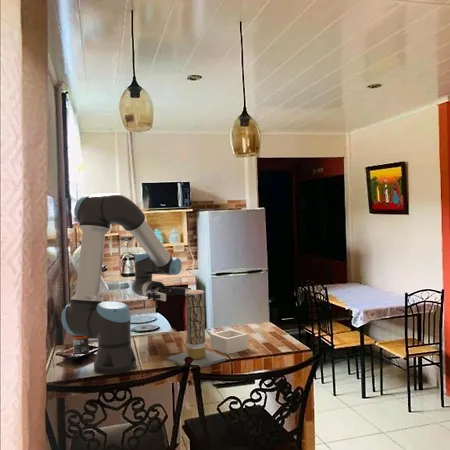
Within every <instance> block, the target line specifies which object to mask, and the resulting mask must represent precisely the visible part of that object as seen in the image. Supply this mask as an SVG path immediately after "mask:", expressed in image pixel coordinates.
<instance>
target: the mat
mask: <svg viewBox="0 0 450 450" xmlns="http://www.w3.org/2000/svg"><path fill="white" fill-rule="evenodd" d="M205 351H206V356H205V357H204V358H202V359H193V363H192V365H199V366H200V368H203V367H204V368H205V367H208V366H211V365H215V364H218V363H221V362H226V361H227V360H228V358H227V357H225V356H223V355H220V354H217V353H215V352H212V351H210V350H207V349H205ZM186 357H188V351H187V352H181V353H177V354H175V355H170V356H167V360H168V361H170V362H172V363H174V364H176V365H179V366H180V367H183V366H182V365H184V359H185V358H186Z"/></svg>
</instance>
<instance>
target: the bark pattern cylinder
mask: <svg viewBox="0 0 450 450" xmlns="http://www.w3.org/2000/svg"><path fill="white" fill-rule="evenodd" d="M185 307H186V308H185V310H186V313H185V314H186V339H187V340H186V343H187V352H188V357H192V358H193V359H202V358H204V357H205V356H206V351H205V350H206V323H205V321H206V320H205V318H206V317H205V316H206V315H205V291H204V290H203V289H191V290H189V291H186V296H185Z"/></svg>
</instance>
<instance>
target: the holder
mask: <svg viewBox="0 0 450 450" xmlns="http://www.w3.org/2000/svg"><path fill="white" fill-rule="evenodd" d="M209 336H210V337H209V339H210V349H212V350H214V351H216V350H217V352H219V351H220V353H222V354H224V353H225V355H231V354H234V353H238V352H242V351H246V350H248V349H249V334H248V333H245V332H242V331H240V330H236V329H232V328H229V329H226V330H225V329H224V330H221V331H218V332H213V333H212V332H211V333H210V334H209ZM230 353H231V354H230Z"/></svg>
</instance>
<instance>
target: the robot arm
mask: <svg viewBox="0 0 450 450" xmlns="http://www.w3.org/2000/svg"><path fill="white" fill-rule="evenodd" d="M73 209H74V217H75V220H76V222H77V223H79V224H78V225H79V226H78V227H79V229H80V230H81V233H82V234H81V243H80V249H79V250H80V251H79V260H78V266H77V267H78V268H77V269H78V270H77V276H76V277H77V278H76V285H75V286H76V287H75V293H74V295H73V296H72V297H70V299H69V300H70V301H69V303H68V304H66V305H65V307H64V308H63V310H62V312H61V317H60V318H61V325H62V327H63V329H64V330H65V332H66V333H68V334H70V335H72V336H73V335H76V336H88V338H89V337H90V338H97V344H98V345H97V351H96V355H95V358H94V362H93V371H94V372H95V373H97V374H101V375H118V374H123V373H127V372H130V371H132V370H134V369H136V368H137V364H138V363H137V357H136V355H135V353H134V350H133V347H132V336H131V331H132V330H131V320H132V319H131V318H132V316H131V312H130V310H131V309H130V307H129V305H127V304H126V303H124V302H121V301H110V300H109V301H103V299H102V298H101V297H100V286H101V277H102V268H103V262H104V261H103V260H104V259H103V257H104V250H105V241H106V234H108V232H110V231H111V225H114V224H115V225H118V226H121V227H122V228H123V230H125V231H126V232H129V233H130V234H131V236H132V237H133V238H134V239H135V241H136V242H137V243H138V245H140V247H141V248H142V249H143V251H144V252H138V253H136V254H135V255H134V256H135V257H134V271H135V272H134V276H135V277H134V280H133V281H132V283H131V290H132V292H133V293H134V294H135V295H137V296H140V297H145V298H147V300H152V301H153V302H154V301H158V300H159V301H161V302H167V296H174V295H175V296H176V295H177V296H179V295H180V296H183V295H184V296H185V297H186V291H189V290H192V288H191V287H189V286H186V287H177V286H165V284H164V283H163V282H161V281H157V280H156V281H155V280H153V275H162V276H163V275H166V276H176V275H177V276H178V275H179V274H180V273H181V271H182V267H183V263H182V261H181V259H180V257H179V258H178V257H174V256H173V257H172V256H171V254H170V252H169V251H168V250H167V249H166V247H165V246H164V244H163V243H162V242H161V240H160V239H159V237H158V236H157V235H156V234H155V231H154V230H153V229H152V227H151V226H150V225H149V224H148V222H147V221H146V215H145V213H144V212H143V210H142V209H141V208H140V207H139V206H138V205H137V204H136V203H135V202H134V201H132V200H131V199H130V198H128V197H126V196H125V195H122V194H120V193H102V194H101V193H92V194H87V195H83V196H82V197H80V198H79V199H78V200H77V202H76V203H75V206H74V208H73Z"/></svg>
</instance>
